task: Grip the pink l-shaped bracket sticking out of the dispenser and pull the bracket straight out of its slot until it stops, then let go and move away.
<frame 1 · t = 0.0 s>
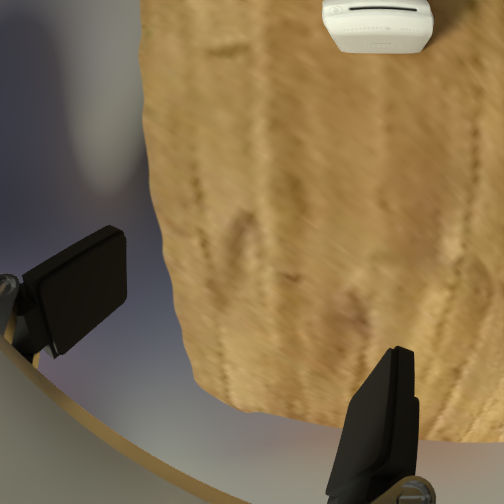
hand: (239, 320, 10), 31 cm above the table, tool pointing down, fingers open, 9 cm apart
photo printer: (378, 38, 28), on the table
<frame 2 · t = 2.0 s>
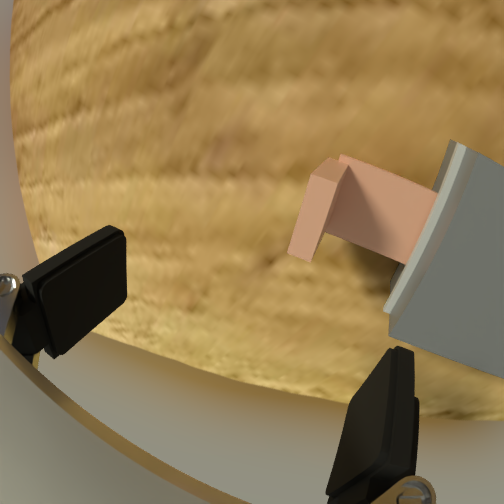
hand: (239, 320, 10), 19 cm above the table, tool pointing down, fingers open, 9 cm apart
dispenser: (493, 249, 22), on the table
pink l-shaped bracket: (434, 249, 18), point 7 cm above the table, slide at 0.0 cm
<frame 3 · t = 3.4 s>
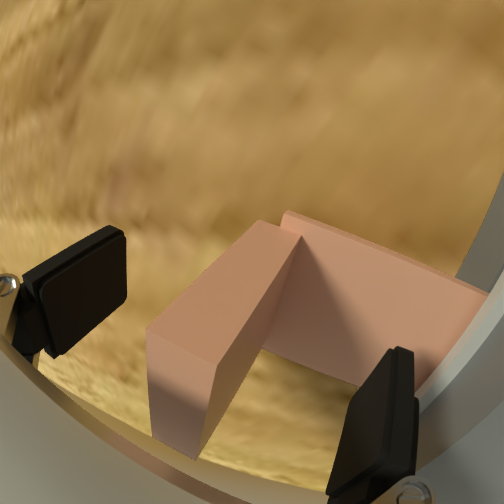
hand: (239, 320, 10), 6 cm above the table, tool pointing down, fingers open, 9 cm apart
pink l-shaped bracket: (459, 417, 8), point 7 cm above the table, slide at 0.0 cm
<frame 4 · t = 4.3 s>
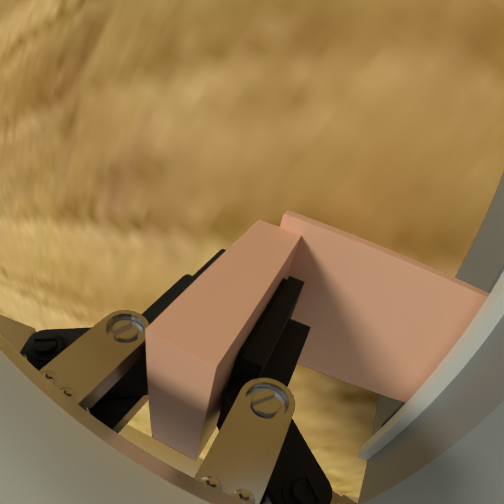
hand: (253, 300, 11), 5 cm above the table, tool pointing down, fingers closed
pink l-shaped bracket: (459, 417, 8), point 7 cm above the table, slide at 0.0 cm, touching gripper
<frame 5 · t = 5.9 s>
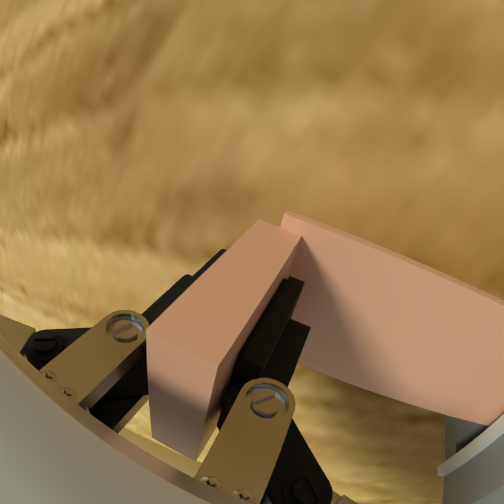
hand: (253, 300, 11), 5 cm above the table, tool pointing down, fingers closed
pink l-shaped bracket: (459, 418, 8), point 7 cm above the table, slide at 5.3 cm, touching gripper
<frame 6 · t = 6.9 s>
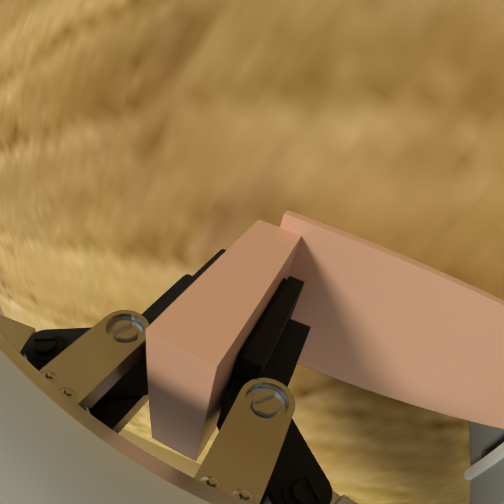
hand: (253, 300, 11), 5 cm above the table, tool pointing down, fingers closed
pink l-shaped bracket: (459, 417, 8), point 7 cm above the table, slide at 7.5 cm, touching gripper
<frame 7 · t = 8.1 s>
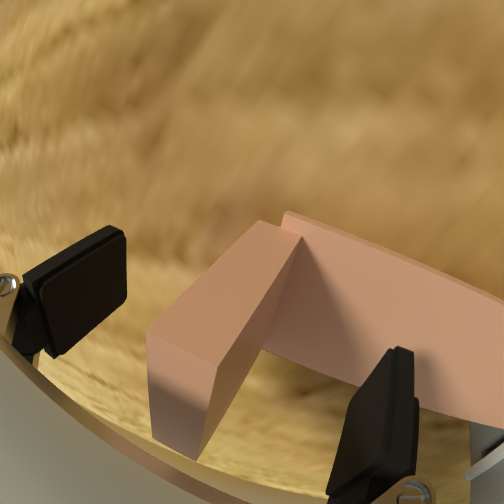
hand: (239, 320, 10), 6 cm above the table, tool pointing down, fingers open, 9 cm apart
pink l-shaped bracket: (460, 418, 8), point 7 cm above the table, slide at 7.5 cm
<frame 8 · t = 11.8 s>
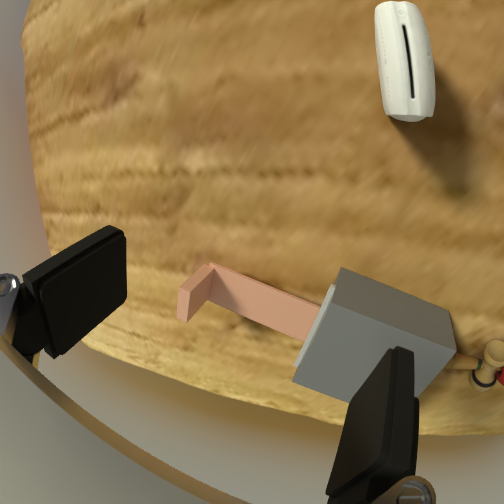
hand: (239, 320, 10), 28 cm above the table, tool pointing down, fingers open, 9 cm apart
kendama: (476, 352, 36), on the table
dispenser: (375, 329, 41), on the table
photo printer: (397, 74, 27), on the table
pink l-shaped bracket: (254, 318, 38), point 7 cm above the table, slide at 7.5 cm
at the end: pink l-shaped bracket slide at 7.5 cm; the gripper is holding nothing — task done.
